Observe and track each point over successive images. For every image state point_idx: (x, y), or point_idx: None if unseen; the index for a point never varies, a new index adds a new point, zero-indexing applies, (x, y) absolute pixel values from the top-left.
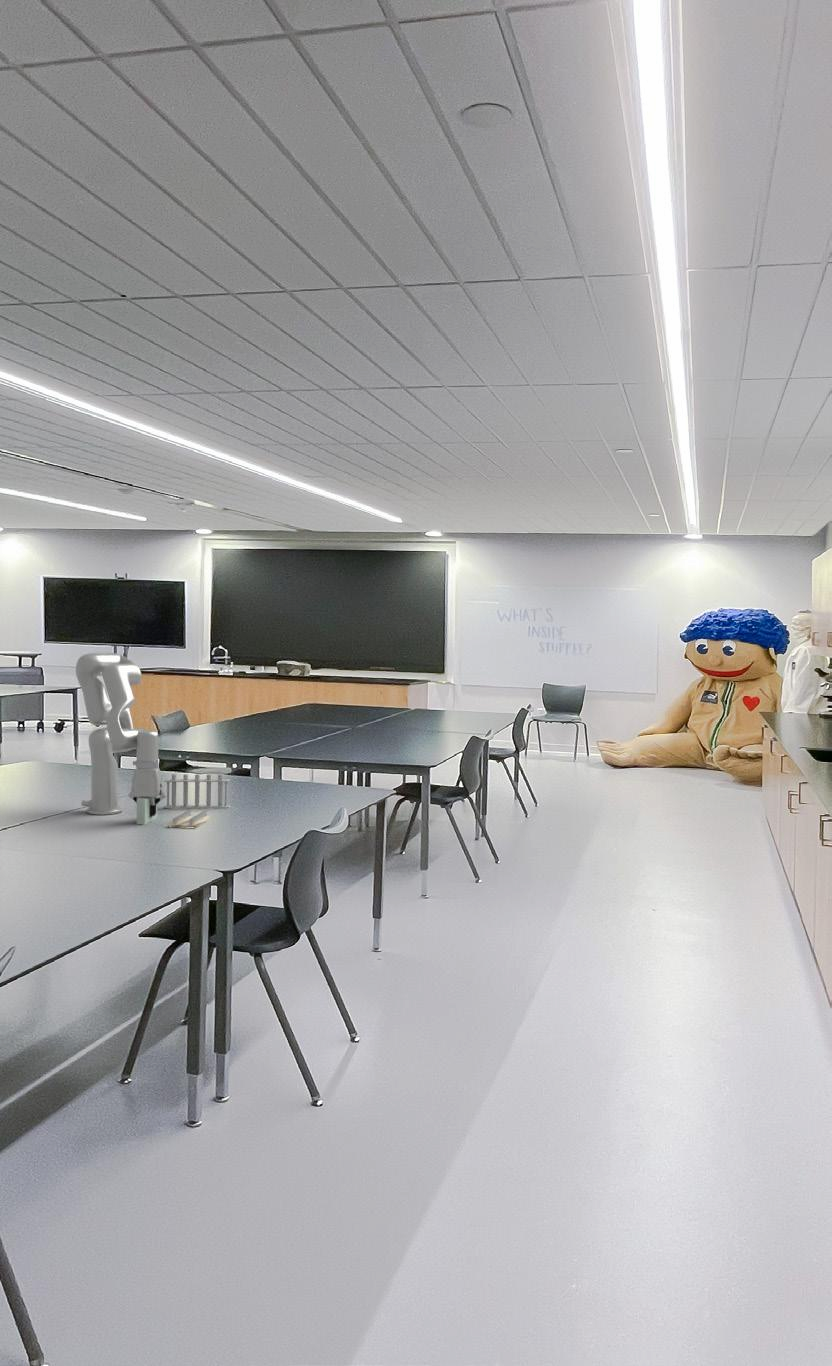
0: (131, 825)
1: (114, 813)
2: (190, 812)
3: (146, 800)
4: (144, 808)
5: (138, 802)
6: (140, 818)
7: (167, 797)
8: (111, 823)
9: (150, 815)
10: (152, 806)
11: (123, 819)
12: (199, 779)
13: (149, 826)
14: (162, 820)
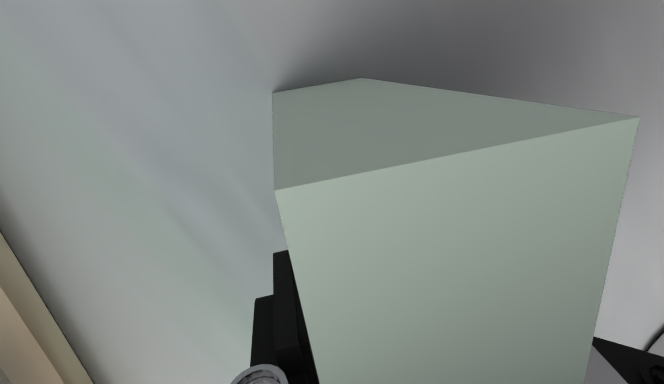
0: (388, 7)
1: (656, 342)
2: None
3: (304, 304)
4: (281, 120)
5: (488, 111)
6: (331, 88)
7: None
8: (609, 36)
9: None
10: (278, 353)
11: None
12: None
13: (163, 23)
14: (243, 326)
